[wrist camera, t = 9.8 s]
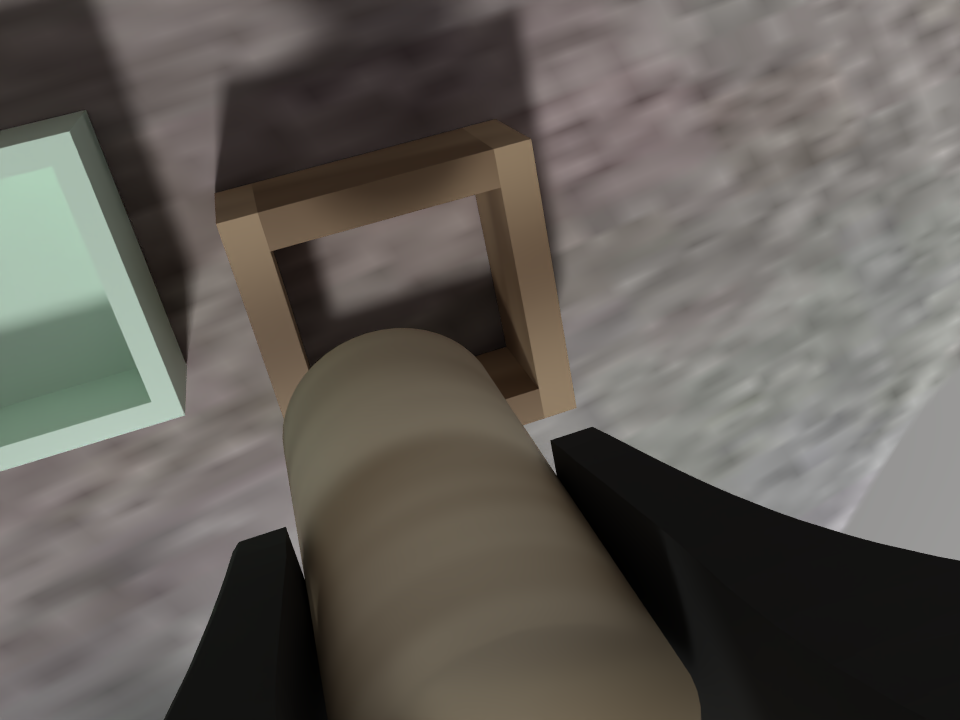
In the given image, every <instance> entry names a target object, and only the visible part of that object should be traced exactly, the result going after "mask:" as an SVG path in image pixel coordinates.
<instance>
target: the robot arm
mask: <svg viewBox="0 0 960 720" xmlns="http://www.w3.org/2000/svg"><path fill="white" fill-rule="evenodd" d="M550 441H551V446H552V452H553V457H554V463H555V468H556V474H557V477H558V478H559V480H560V481H561V483H562V484H563V486H564V487H565V489H566V490H567V492H568V493H569V495H570V496H571V498H572V499H573V501H574V502H575V504H576V505H577V507H578V508H579V510H580V511H581V513H582V514H583V516H584V517H585V519H586V520H587V522H588V523H589V525H590V526H591V528H592V529H593V531H594V532H595V534H596V535H597V537H598V538H599V540H600V541H601V543H602V544H603V546H604V547H605V548H606V550H607V551H608V553H609V554H610V556H611V557H612V559H613V560H614V562H615V563H616V565H617V566H618V568H619V569H620V571H621V572H622V574H623V575H624V577H625V578H626V580H627V581H628V583H629V584H630V586H631V587H632V589H633V590H634V592H635V593H636V595H637V596H638V598H639V599H640V601H641V602H642V604H643V605H644V607H645V608H646V610H647V611H648V613H649V614H650V616H651V617H652V619H653V620H654V621H655V623H656V624H657V626H658V627H659V629H660V630H661V632H662V633H663V635H664V636H665V638H666V639H667V641H668V642H669V644H670V645H671V647H672V648H673V650H674V651H675V653H676V654H677V656H678V657H679V659H680V660H681V662H682V663H683V665H684V666H685V668H686V669H687V671H688V672H689V674H690V675H691V677H692V679H693V682H694V684H695V687H696V689H697V692H698V697H699V701H700V706H701V720H960V561H958V560H953V559H948V558H942V557H937V556H933V555H928V554H924V553H919V552H915V551H911V550H906V549H902V548H897V547H893V546H888V545H884V544H880V543H876V542H872V541H869V540H865V539H861V538H857V537H854V536H850V535H847V534H843V533H840V532H837V531H834V530H830V529H827V528H824V527H821V526H817V525H814V524H811V523H808V522H805V521H801V520H798V519H795V518H793V517H790V516H787V515H784V514H781V513H778V512H776V511H773V510H770V509H768V508H765V507H763V506H760V505H758V504H755V503H753V502H750V501H748V500H745V499H743V498H740V497H738V496H735V495H733V494H730V493H728V492H726V491H723V490H721V489H719V488H716V487H714V486H712V485H710V484H707V483H705V482H703V481H701V480H699V479H696V478H694V477H692V476H690V475H688V474H686V473H684V472H682V471H679V470H677V469H675V468H673V467H671V466H669V465H667V464H665V463H663V462H661V461H659V460H657V459H655V458H653V457H651V456H649V455H647V454H645V453H643V452H641V451H639V450H637V449H635V448H633V447H631V446H629V445H628V444H626V443H624V442H622V441H620V440H618V439H616V438H614V437H612V436H610V435H608V434H606V433H604V432H602V431H600V430H598V429H596V428H594V427H590V428H587V429H584V430H581V431H578V432H575V433H572V434H569V435H566V436H563V437H560V438H556V439H553V440H550ZM164 720H328V718H327V712H326V706H325V700H324V693H323V687H322V681H321V675H320V669H319V663H318V657H317V650H316V644H315V638H314V632H313V626H312V620H311V614H310V607H309V601H308V595H307V589H306V583H305V579H304V576H303V573H302V571H301V568H300V565H299V562H298V560H297V557H296V554H295V551H294V549H293V546H292V543H291V540H290V538H289V535H288V532H287V529H286V527H284V528H281V529H278V530H274V531H271V532H268V533H265V534H262V535H259V536H256V537H253V538H250V539H247V540H244V541H241V542H239V543H238V544H237V546H236V548H235V549H234V551H233V553H232V556H231V560H230V563H229V566H228V569H227V572H226V575H225V578H224V581H223V584H222V587H221V590H220V593H219V595H218V598H217V601H216V603H215V606H214V609H213V611H212V614H211V617H210V619H209V622H208V624H207V626H206V629H205V631H204V634H203V636H202V638H201V641H200V643H199V646H198V648H197V650H196V653H195V655H194V658H193V660H192V662H191V665H190V667H189V669H188V671H187V673H186V676H185V678H184V680H183V682H182V684H181V686H180V688H179V690H178V692H177V694H176V696H175V698H174V700H173V702H172V704H171V706H170V708H169V710H168V712H167V714H166V716H165V718H164Z"/></svg>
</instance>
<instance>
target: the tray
mask: <svg viewBox="0 0 960 720" xmlns="http://www.w3.org/2000/svg"><path fill="white" fill-rule="evenodd" d="M186 375H187V365H186V363H185V360H184V358H183V355H182V353H181V350H180V348H179V345H178V342H177V340H176V337H175V335H174V332H173V330H172V327H171V325H170V322H169V320H168V317H167V315H166V312H165V309H164V307H163V304H162V302H161V299H160V297H159V294H158V292H157V289H156V287H155V284H154V282H153V279H152V276H151V274H150V271H149V269H148V266H147V264H146V261H145V259H144V256H143V254H142V251H141V249H140V246H139V243H138V241H137V238H136V236H135V233H134V231H133V228H132V226H131V223H130V221H129V218H128V216H127V213H126V210H125V208H124V205H123V203H122V200H121V198H120V195H119V193H118V190H117V188H116V185H115V183H114V180H113V177H112V175H111V172H110V170H109V167H108V165H107V162H106V160H105V157H104V155H103V152H102V150H101V147H100V144H99V142H98V139H97V137H96V134H95V132H94V129H93V127H92V124H91V122H90V119H89V117H88V114H87V111H86V110H83V111H79V112H75V113H71V114H67V115H62V116H58V117H54V118H50V119H46V120H42V121H38V122H34V123H30V124H25V125H21V126H17V127H13V128H9V129H5V130H1V131H0V471H3V470H6V469H10V468H13V467H16V466H20V465H23V464H26V463H29V462H33V461H36V460H39V459H43V458H46V457H49V456H53V455H56V454H59V453H62V452H66V451H69V450H72V449H76V448H79V447H82V446H86V445H89V444H92V443H95V442H99V441H102V440H105V439H109V438H112V437H115V436H119V435H122V434H125V433H128V432H132V431H135V430H138V429H142V428H145V427H148V426H152V425H155V424H158V423H161V422H165V421H168V420H171V419H175V418H178V417H181V416H185V400H186Z"/></svg>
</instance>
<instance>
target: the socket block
mask: <svg viewBox="0 0 960 720" xmlns="http://www.w3.org/2000/svg"><path fill="white" fill-rule="evenodd" d="M472 195H476V200H477V205H478V210H479V215H480V220H481V225H482V229H483V234H484V239H485V244H486V249H487V254H488V259H489V264H490V269H491V274H492V279H493V284H494V288H495V293H496V298H497V303H498V308H499V313H500V318H501V323H502V328H503V333H504V338H505V343H506V347H504V348H501V349H497V350H494V351H491V352H488V353H484V354H481V355H478V356H475V357H476V358H477V359H478V360H479V361H480V363H481V364H482V365H483V367H484V368H485V370H486V371H487V373H488V374H489V376H490V377H491V379H492V380H493V382H494V383H495V385H496V386H497V388H498V389H499V391H500V392H501V394H502V395H503V397H504V398H505V400H506V401H507V402H508V404H509V405H510V407H511V408H512V410H513V411H514V413H515V414H516V416H517V417H518V419H519V420H520V422H521V423H522V425H525V424H528V423H531V422H534V421H537V420H541V419H544V418H547V417H550V416H553V415H556V414H559V413H562V412H565V411H568V410H571V409H574V408H576V402H575V396H574V390H573V385H572V379H571V373H570V367H569V361H568V355H567V349H566V343H565V337H564V331H563V325H562V319H561V313H560V307H559V302H558V296H557V290H556V284H555V278H554V272H553V266H552V260H551V254H550V248H549V242H548V236H547V230H546V224H545V218H544V213H543V207H542V201H541V195H540V189H539V183H538V177H537V171H536V165H535V159H534V153H533V147H532V141H531V139H530V138H528V137H527V136H525V135H523V134H521V133H519V132H518V131H516V130H514V129H512V128H510V127H509V126H507V125H505V124H503V123H501V122H500V121H498V120H496V119H494V120H490V121H486V122H482V123H479V124H475V125H471V126H467V127H464V128H460V129H456V130H452V131H448V132H445V133H441V134H437V135H433V136H429V137H426V138H422V139H418V140H414V141H411V142H407V143H403V144H399V145H395V146H392V147H388V148H384V149H380V150H376V151H373V152H369V153H365V154H361V155H358V156H354V157H350V158H346V159H342V160H339V161H335V162H331V163H327V164H323V165H320V166H316V167H312V168H308V169H305V170H301V171H297V172H293V173H289V174H286V175H282V176H278V177H274V178H270V179H267V180H263V181H259V182H255V183H252V184H248V185H244V186H240V187H236V188H233V189H229V190H225V191H221V192H218V193H215V211H216V225H217V228H218V231H219V234H220V237H221V239H222V242H223V245H224V248H225V251H226V254H227V257H228V260H229V262H230V265H231V268H232V271H233V274H234V277H235V280H236V283H237V285H238V288H239V291H240V294H241V297H242V300H243V303H244V306H245V308H246V311H247V314H248V317H249V320H250V323H251V326H252V329H253V331H254V334H255V337H256V340H257V343H258V346H259V349H260V352H261V355H262V357H263V360H264V363H265V366H266V369H267V372H268V375H269V378H270V380H271V383H272V386H273V389H274V392H275V395H276V398H277V401H278V403H279V406H280V409H281V412H282V415H283V418H285V413H286V410H287V407H288V404H289V401H290V399H291V397H292V395H293V393H294V391H295V389H296V387H297V385H298V384H299V382H300V381H301V379H302V378H303V377H304V375H305V374H306V373H307V372H308V371H309V369H310V364H309V361H308V358H307V355H306V352H305V349H304V346H303V343H302V340H301V336H300V333H299V330H298V327H297V324H296V321H295V318H294V315H293V312H292V308H291V305H290V302H289V299H288V296H287V293H286V290H285V287H284V284H283V280H282V277H281V274H280V271H279V268H278V265H277V262H276V259H275V256H274V252H273V251H274V250H277V249H281V248H285V247H288V246H292V245H295V244H299V243H303V242H306V241H310V240H313V239H317V238H321V237H324V236H328V235H331V234H335V233H339V232H342V231H346V230H349V229H353V228H357V227H360V226H364V225H367V224H371V223H375V222H378V221H382V220H385V219H389V218H393V217H396V216H400V215H404V214H407V213H411V212H414V211H418V210H422V209H425V208H429V207H432V206H436V205H440V204H443V203H447V202H450V201H454V200H458V199H461V198H465V197H468V196H472Z"/></svg>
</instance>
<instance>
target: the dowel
mask: <svg viewBox="0 0 960 720" xmlns="http://www.w3.org/2000/svg"><path fill="white" fill-rule="evenodd" d="M283 446H284V454H285V460H286V466H287V472H288V478H289V484H290V491H291V497H292V503H293V509H294V515H295V521H296V527H297V534H298V540H299V546H300V552H301V558H302V564H303V570H304V577H305V583H306V589H307V595H308V601H309V607H310V614H311V620H312V626H313V632H314V638H315V644H316V650H317V657H318V663H319V669H320V675H321V681H322V687H323V693H324V700H325V706H326V712H327V718H328V720H701V706H700V701H699V697H698V692H697V689H696V687H695V684H694V682H693V679H692V677H691V675H690V674H689V672H688V671H687V669H686V668H685V666H684V665H683V663H682V662H681V660H680V659H679V657H678V656H677V654H676V653H675V651H674V650H673V648H672V647H671V645H670V644H669V642H668V641H667V639H666V638H665V636H664V635H663V633H662V632H661V630H660V629H659V627H658V626H657V624H656V623H655V621H654V620H653V619H652V617H651V616H650V614H649V613H648V611H647V610H646V608H645V607H644V605H643V604H642V602H641V601H640V599H639V598H638V596H637V595H636V593H635V592H634V590H633V589H632V587H631V586H630V584H629V583H628V581H627V580H626V578H625V577H624V575H623V574H622V572H621V571H620V569H619V568H618V566H617V565H616V563H615V562H614V560H613V559H612V557H611V556H610V554H609V553H608V551H607V550H606V548H605V547H604V546H603V544H602V543H601V541H600V540H599V538H598V537H597V535H596V534H595V532H594V531H593V529H592V528H591V526H590V525H589V523H588V522H587V520H586V519H585V517H584V516H583V514H582V513H581V511H580V510H579V508H578V507H577V505H576V504H575V502H574V501H573V499H572V498H571V496H570V495H569V493H568V492H567V490H566V489H565V487H564V486H563V484H562V483H561V481H560V480H559V478H558V477H557V475H556V474H555V473H554V471H553V470H552V468H551V467H550V465H549V464H548V462H547V461H546V459H545V458H544V456H543V455H542V453H541V452H540V450H539V449H538V447H537V446H536V444H535V443H534V441H533V440H532V438H531V437H530V435H529V434H528V432H527V431H526V429H525V428H524V426H523V425H522V423H521V422H520V420H519V419H518V417H517V416H516V414H515V413H514V411H513V410H512V408H511V407H510V405H509V404H508V402H507V401H506V400H505V398H504V397H503V395H502V394H501V392H500V391H499V389H498V388H497V386H496V385H495V383H494V382H493V380H492V379H491V377H490V376H489V374H488V373H487V371H486V370H485V368H484V367H483V365H482V364H481V363H480V361H479V360H478V359H477V358H476V357H475V356H474V355H473V354H472V353H471V352H470V351H468V350H467V349H466V348H465V347H463V346H462V345H460V344H459V343H457V342H455V341H454V340H452V339H450V338H447V337H445V336H443V335H440V334H438V333H434V332H430V331H426V330H421V329H413V328H392V329H383V330H378V331H374V332H370V333H366V334H363V335H360V336H358V337H355V338H352V339H350V340H348V341H346V342H344V343H342V344H341V345H339V346H337V347H336V348H334V349H333V350H331V351H330V352H328V353H327V354H325V355H324V356H323V357H322V358H321V359H320V360H318V361H317V362H316V363H315V364H314V365H313V366H312V367H311V368H310V369H309V371H308V372H307V373H306V374H305V375H304V377H303V378H302V379H301V381H300V382H299V384H298V385H297V387H296V389H295V391H294V393H293V395H292V397H291V399H290V401H289V404H288V407H287V410H286V413H285V418H284V424H283Z"/></svg>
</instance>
